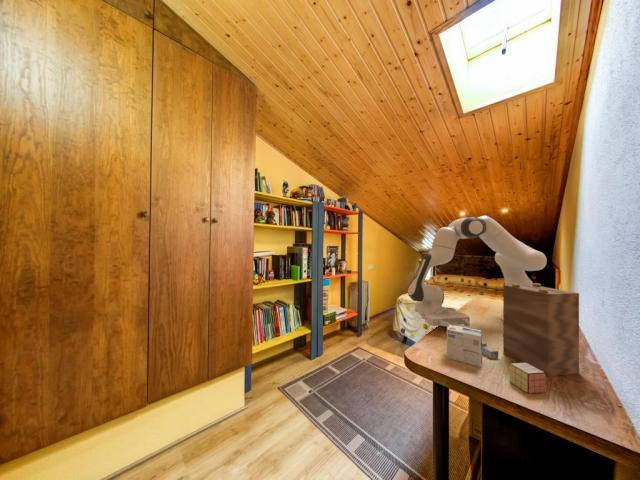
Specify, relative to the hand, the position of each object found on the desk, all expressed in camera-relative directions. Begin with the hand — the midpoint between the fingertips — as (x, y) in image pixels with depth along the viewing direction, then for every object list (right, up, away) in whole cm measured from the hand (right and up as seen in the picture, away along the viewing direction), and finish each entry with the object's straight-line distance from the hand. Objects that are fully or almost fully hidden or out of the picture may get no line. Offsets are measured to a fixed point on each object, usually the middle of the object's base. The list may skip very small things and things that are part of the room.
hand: (459, 325), depth 102 cm
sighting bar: (+1, -6, -6) cm, 8 cm away
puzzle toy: (-1, -6, -34) cm, 35 cm away
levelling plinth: (+15, -6, -21) cm, 26 cm away
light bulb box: (-9, -6, -18) cm, 21 cm away
